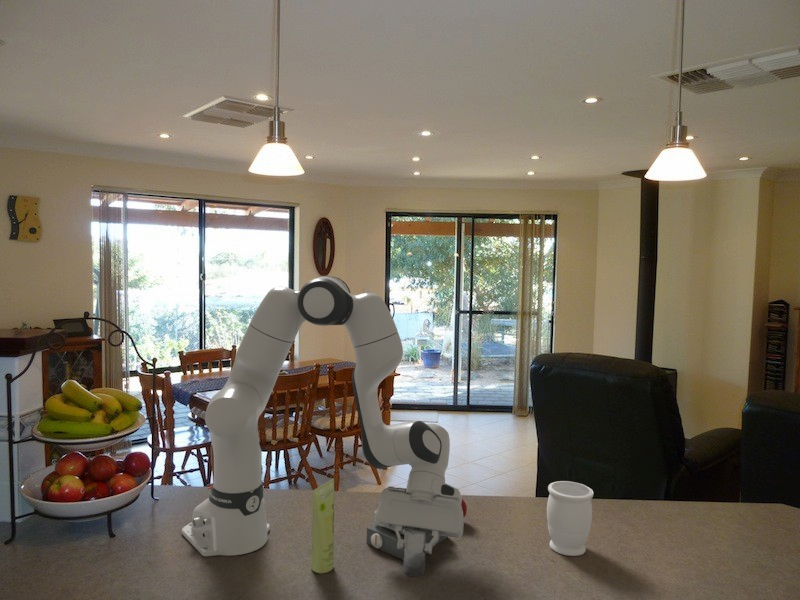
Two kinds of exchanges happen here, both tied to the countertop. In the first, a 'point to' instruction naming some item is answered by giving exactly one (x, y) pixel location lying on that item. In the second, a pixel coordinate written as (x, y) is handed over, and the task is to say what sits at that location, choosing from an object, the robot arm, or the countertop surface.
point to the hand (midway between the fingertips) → (414, 550)
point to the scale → (390, 540)
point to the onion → (464, 508)
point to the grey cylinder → (414, 551)
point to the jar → (569, 516)
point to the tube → (323, 528)
